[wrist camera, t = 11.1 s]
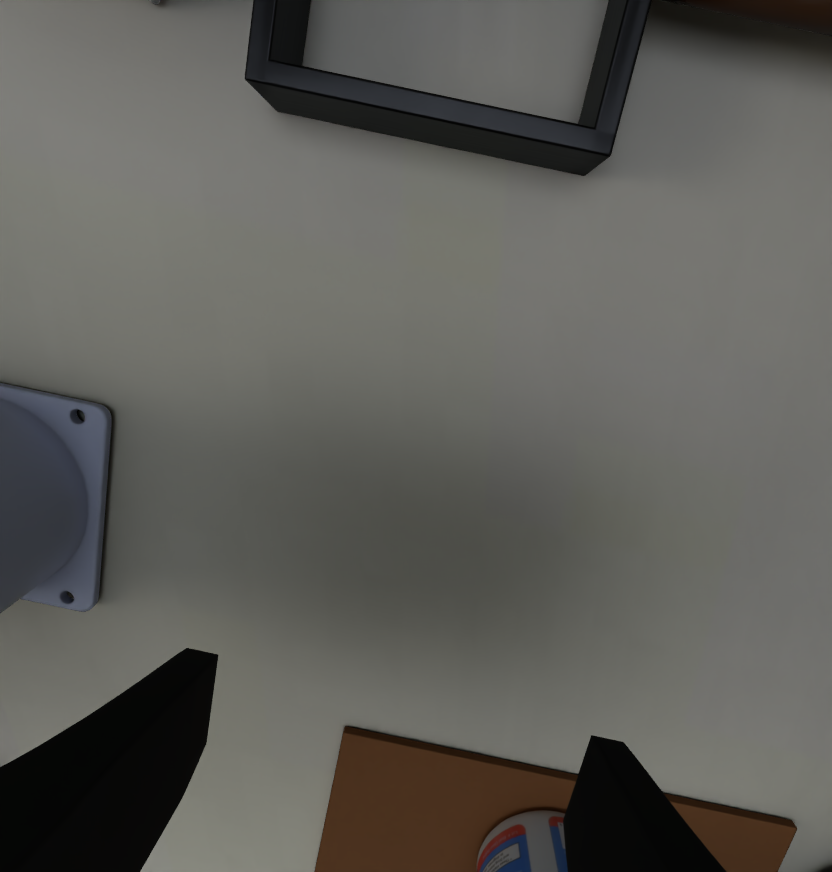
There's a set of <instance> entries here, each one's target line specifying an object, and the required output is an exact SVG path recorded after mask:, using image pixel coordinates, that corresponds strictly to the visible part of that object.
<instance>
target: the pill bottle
mask: <svg viewBox="0 0 832 872" xmlns="http://www.w3.org/2000/svg"><path fill="white" fill-rule="evenodd" d="M564 816H565V814H564V813H561V812H556V811H546V810H539V811H530V812H525V813H521V814H517V815H515V816H512V817H510V818H508V819H506V820H504V821H503V822H501V823H500V824H499V825H497V826H496V827H495V828H494V829H493V830H492V831H491V832H490V833H489V834H488V836H487V837H486V838H485V840H484V842H483V844H482V846H481V848H480V851H479V854H478V859H477V872H568V870H567V861H566V851H565V839H564V828H563V819H564Z"/></svg>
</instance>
